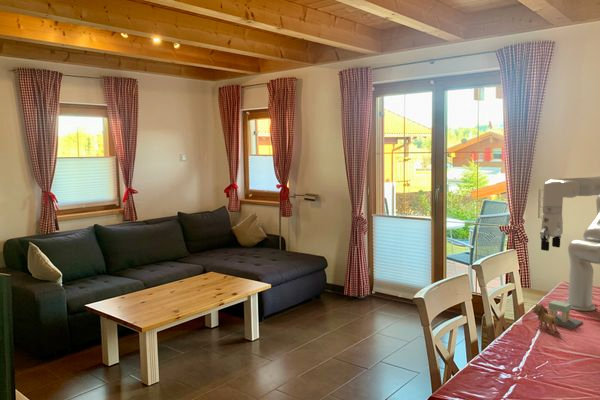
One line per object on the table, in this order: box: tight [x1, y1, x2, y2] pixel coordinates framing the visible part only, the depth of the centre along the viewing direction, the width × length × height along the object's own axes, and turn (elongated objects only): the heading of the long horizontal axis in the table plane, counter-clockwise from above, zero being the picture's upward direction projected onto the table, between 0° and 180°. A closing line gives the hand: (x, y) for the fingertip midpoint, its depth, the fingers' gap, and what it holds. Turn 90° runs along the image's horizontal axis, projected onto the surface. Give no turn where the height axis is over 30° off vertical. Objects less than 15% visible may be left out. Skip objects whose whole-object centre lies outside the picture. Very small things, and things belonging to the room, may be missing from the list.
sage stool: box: [548, 299, 572, 323], centre depth 206 cm, size 7×5×7 cm
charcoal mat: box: [538, 314, 584, 330], centre depth 206 cm, size 10×14×1 cm
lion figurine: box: [531, 303, 562, 336], centre depth 198 cm, size 15×5×9 cm, turn 13°
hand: (550, 248), depth 210 cm, fingers open, 9 cm apart
